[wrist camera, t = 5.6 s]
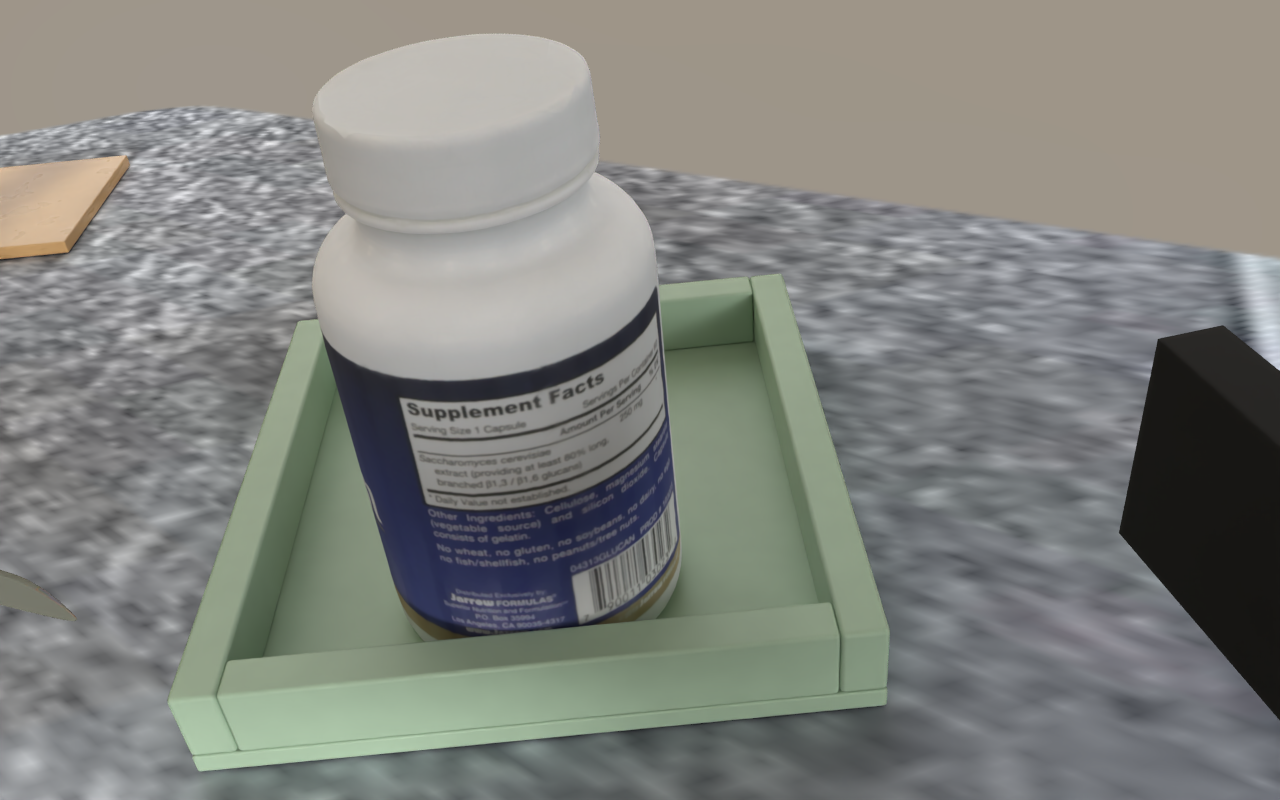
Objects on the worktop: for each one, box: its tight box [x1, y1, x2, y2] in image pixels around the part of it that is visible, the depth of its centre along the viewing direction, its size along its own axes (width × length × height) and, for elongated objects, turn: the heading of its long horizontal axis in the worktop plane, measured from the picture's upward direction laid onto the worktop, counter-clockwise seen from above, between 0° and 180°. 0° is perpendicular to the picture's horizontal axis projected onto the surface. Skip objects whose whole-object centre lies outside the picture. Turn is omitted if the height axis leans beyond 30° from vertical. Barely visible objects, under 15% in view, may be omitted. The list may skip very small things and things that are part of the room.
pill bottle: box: [312, 34, 682, 641], centre depth 20 cm, size 5×5×10 cm
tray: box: [167, 274, 890, 771], centre depth 24 cm, size 12×12×2 cm
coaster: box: [0, 155, 130, 259], centre depth 39 cm, size 6×6×1 cm
